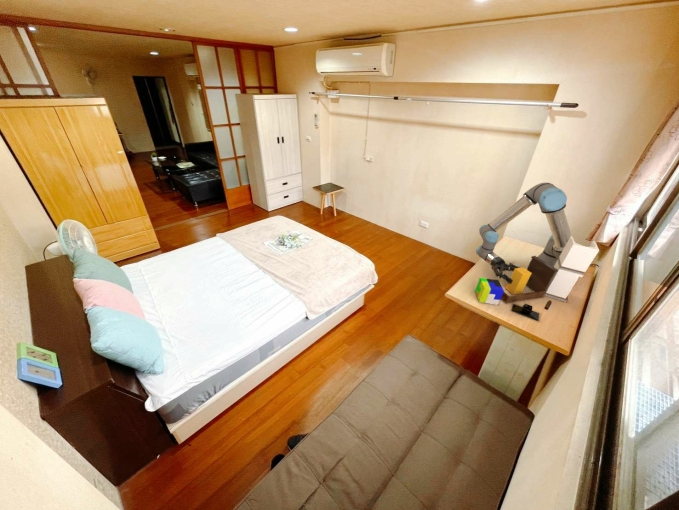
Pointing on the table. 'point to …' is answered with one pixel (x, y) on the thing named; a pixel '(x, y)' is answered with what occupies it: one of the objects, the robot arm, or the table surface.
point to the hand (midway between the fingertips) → (521, 280)
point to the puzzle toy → (489, 291)
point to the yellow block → (518, 280)
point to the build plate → (526, 311)
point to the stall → (534, 281)
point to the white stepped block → (570, 268)
